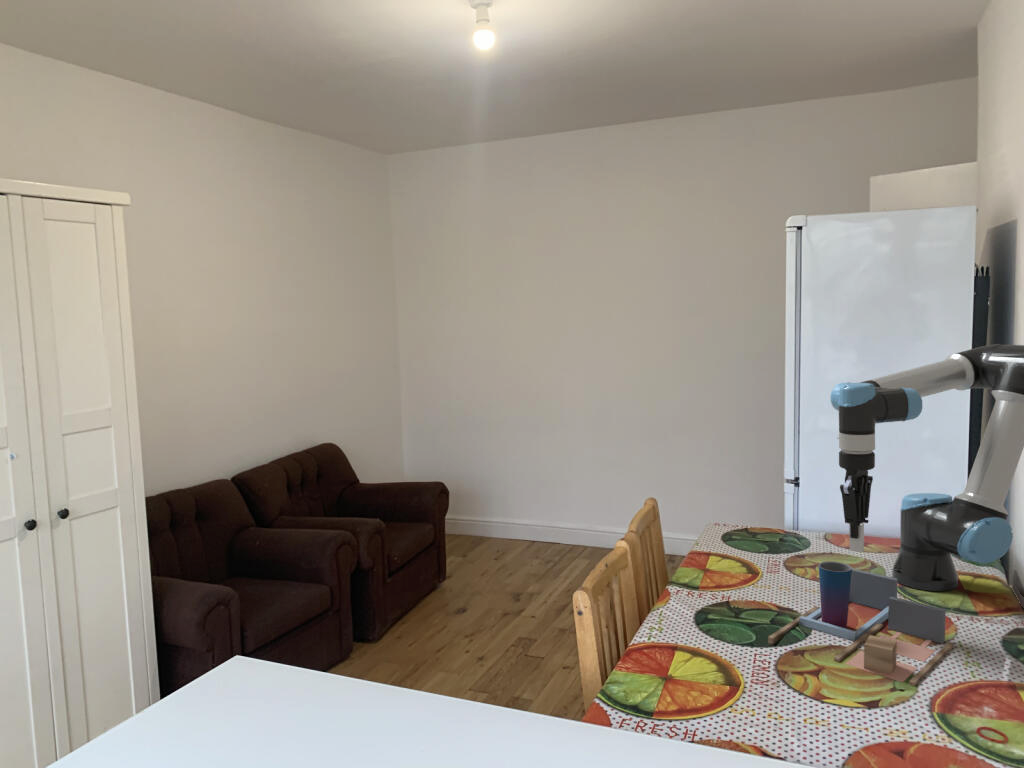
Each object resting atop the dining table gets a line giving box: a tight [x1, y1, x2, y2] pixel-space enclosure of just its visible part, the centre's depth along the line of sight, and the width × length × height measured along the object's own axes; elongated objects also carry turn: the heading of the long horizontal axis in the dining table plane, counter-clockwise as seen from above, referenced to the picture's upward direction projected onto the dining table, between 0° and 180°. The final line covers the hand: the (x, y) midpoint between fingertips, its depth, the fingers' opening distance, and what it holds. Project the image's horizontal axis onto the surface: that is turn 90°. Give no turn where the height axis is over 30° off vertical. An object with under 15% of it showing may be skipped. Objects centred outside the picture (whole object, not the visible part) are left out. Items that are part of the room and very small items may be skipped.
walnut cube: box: [863, 635, 898, 675], centre depth 152 cm, size 5×5×5 cm
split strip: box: [844, 597, 947, 683], centre depth 158 cm, size 24×11×8 cm, turn 134°
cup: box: [818, 560, 853, 629], centre depth 170 cm, size 7×7×15 cm
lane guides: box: [767, 606, 955, 687], centre depth 163 cm, size 23×30×2 cm
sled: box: [798, 568, 898, 642], centre depth 176 cm, size 24×12×8 cm, turn 134°
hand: (856, 550), depth 177 cm, fingers closed
